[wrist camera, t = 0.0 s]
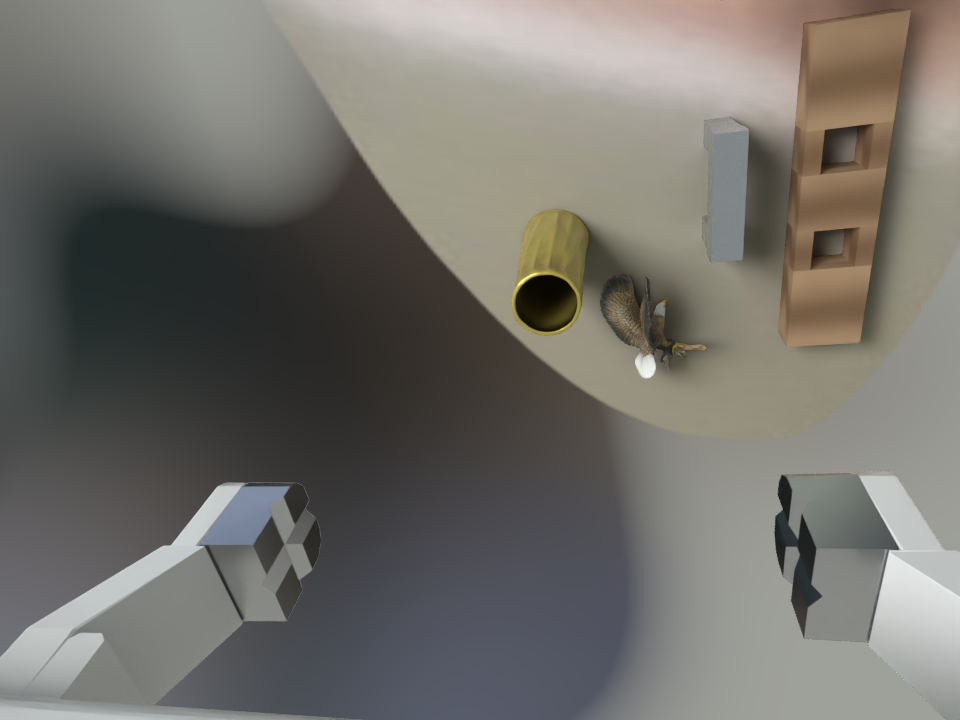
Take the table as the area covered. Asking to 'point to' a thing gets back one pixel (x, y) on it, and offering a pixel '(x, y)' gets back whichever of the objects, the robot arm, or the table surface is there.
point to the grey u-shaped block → (725, 189)
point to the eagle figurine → (640, 324)
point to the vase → (550, 273)
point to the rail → (839, 172)
